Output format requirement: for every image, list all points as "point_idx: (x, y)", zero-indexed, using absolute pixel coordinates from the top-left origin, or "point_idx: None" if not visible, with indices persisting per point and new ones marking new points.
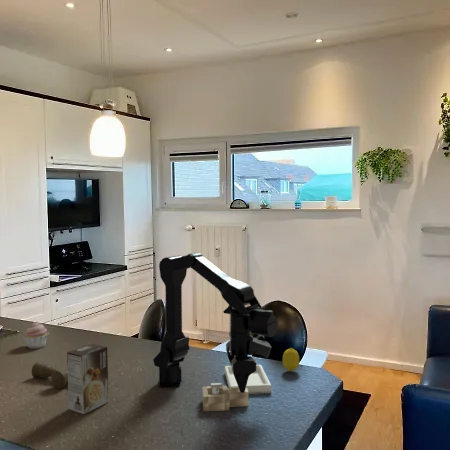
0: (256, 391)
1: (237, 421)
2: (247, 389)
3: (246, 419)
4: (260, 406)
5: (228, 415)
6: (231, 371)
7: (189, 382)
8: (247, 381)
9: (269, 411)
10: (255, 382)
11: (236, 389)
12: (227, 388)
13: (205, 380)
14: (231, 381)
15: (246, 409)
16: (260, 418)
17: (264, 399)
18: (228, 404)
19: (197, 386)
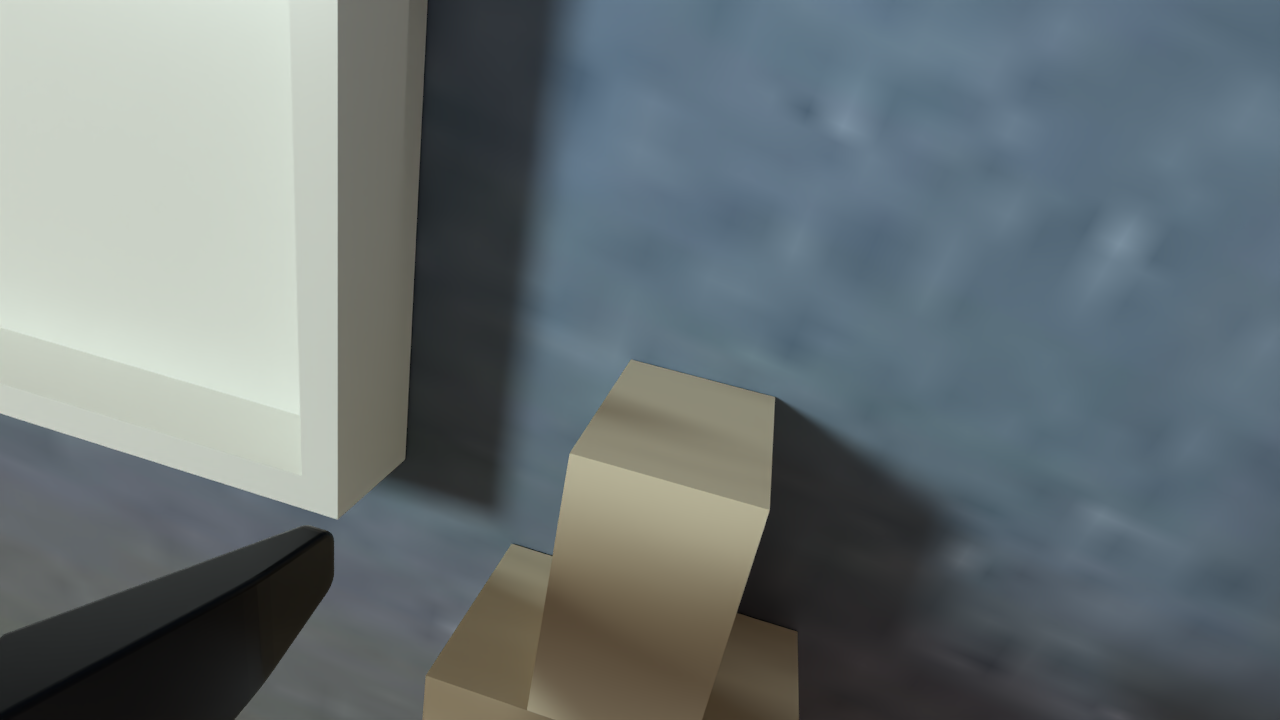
0: (402, 128)
1: (1132, 678)
2: (376, 276)
3: (1146, 574)
4: (852, 239)
5: (923, 689)
6: None
7: None
8: (51, 122)
9: (1093, 171)
10: (75, 6)
11: (603, 628)
12: (531, 712)
13: (43, 538)
14: (174, 443)
15: (861, 456)
16: (1241, 403)
17: (635, 74)
18: (796, 697)
19: None
